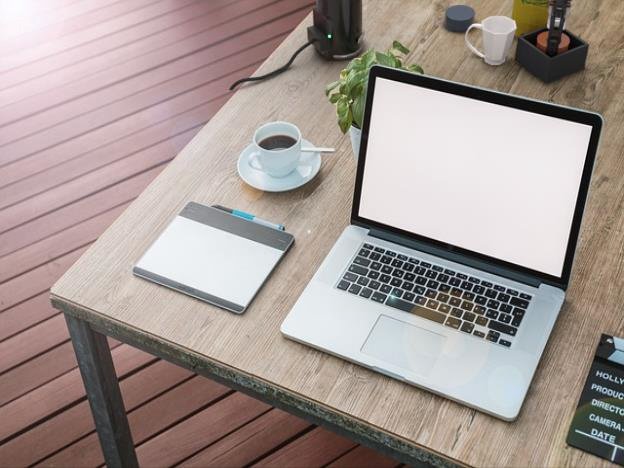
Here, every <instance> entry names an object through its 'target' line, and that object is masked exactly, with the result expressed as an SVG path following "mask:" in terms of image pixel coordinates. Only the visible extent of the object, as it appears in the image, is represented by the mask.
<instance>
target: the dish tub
mask: <svg viewBox="0 0 624 468" xmlns="http://www.w3.org/2000/svg"><path fill="white" fill-rule="evenodd" d="M546 31H549V28H547V26H545V27H542V28H539V29H537V30H534V31H531V32H529V33H526V34H524V35H521V36H518V39H517V38H516V45H515V52H514V62H515V63H517V64H518V65H519V66H521V67H522V68H523V69H525V70H526V71H528V72H529V73H530V74H531V75H533V76H534V77H535V78H537V79H538V80H540V81H541V82H542V83H543V84H544V85H548V84H550V83H552V82H554V81H558V80H559V79H562V78H564V77H568V76H569V75H573V74H575V73H578V72H579V71H582V70H584V69H585V66H586V62H587V57H588V54H589V53H588V52H589V49H590V43H589V42H586V41H585V40H583V39H582V38H581V37H579V36H577V35H576V34H574V33H573V32H572V31H570V30H569V29H567V28H565V29H564V30H563V31H562V33H563V34H565V35H567V36H568V37H569V39H570V43H569V48H568V51H566V52H564V53H561V54H559V55H556V56H554V57H551V58H550V57H549V56H548V55H546V54H545V53H543V52H542V51H541V50H539V49H538V48H536V42H537V37H538V35H539V34H541V33H543V32H546Z"/></svg>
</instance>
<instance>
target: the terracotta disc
mask: <svg viewBox="0 0 624 468" xmlns="http://www.w3.org/2000/svg"><path fill="white" fill-rule="evenodd" d="M548 33H549V31H546V32H543V33H541V34H539V35H538V37H537V42H536V48H538V49H539V50H541V51H542V52H543V53H546V47H547V41H546V40H547V36H548ZM551 35H555V34H551ZM561 38H562V39H561V43H560V45H559V47H558V53H557V55H559V54H561V53H564V52H566V51H568V48H569V43H570V39H569V37H568V36H567V35H565V34H563V33H562V36H561Z"/></svg>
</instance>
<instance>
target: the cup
mask: <svg viewBox="0 0 624 468" xmlns="http://www.w3.org/2000/svg"><path fill="white" fill-rule="evenodd" d="M473 28H477V29H480V30H481V33H482V34H481V35H482V36H481V38H482V46H483V53H481V52H480V51H479V50H478V49H476V48H475V47H474V45H472V44H471V42H470V41H469V38H468V35H469V31H470V30H471V29H473ZM516 29H517V28H516V23H515V21H514V20H512V19H511V18H510V17H508V16H506V15H490V16H488V17H486V18H484V19H483V20H482V21H481V23H474V24H472V25H471V26H470V27H469V28H468V30H467V31H465V36H464V42H465V44H466V45H467V47H468V48H469V49H470V50H471V51H472V52H473V53H474V54H475V55H477V56H478V57H479V58H483V59H484V63H486V64H488V65H491V66H501V65H502V64H504V63H505V62H506V57H508V54H509V52H510V49H511V46H512V45H513V44H512V43H513V40H514V38H515V37H514V35H515V32H516Z"/></svg>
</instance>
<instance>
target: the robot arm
mask: <svg viewBox="0 0 624 468" xmlns="http://www.w3.org/2000/svg"><path fill="white" fill-rule="evenodd" d="M315 3H316V6H313V7H312V22H313V23H312V24H313V25H310V26H307V27H306V34H307V35H306V36H307V42H306V43H304V44H303V45H301V46H300V47H299V48H298V49H297V50H296V51H295V52H294V53H293V55H291V57H290V59H289V60H288V62H287V63H286V64H285V65H283V66H282V67H280V68H277V69H275V70H274V71H271V72H269V73H266V74H263V75H260V76H254V77H253V76H252V77H245V78H241V79H238V80H236V81H235V82H233V83H232V85H231V86H230V87H229V88H228V91H234V89H235V88H236V87H237V86H238V85H240V84H243V83H246V82H247V83H248V82H257V81H262V80H266V79H268V78H270V77H272V76H275V75H277V74H279V73H281V72H284V71H286V70H287V69H288V68H289V67H291V65H292V64H293V63H294V61H295V60H296V58H297V57H298V56H299V54H300V53H301V52H303V51H304V50H306V49H307V48H309V46H311V45H312V47H314V49H315V50H316V51H317V52H318V53H319V54H320V55H321V56H323V57H324V58H325V59H326V60H327V61H328V62H332V61H334V60H335V61H342V60H343V61H344V60H349V59H352V58H355V57H357V56H359V54H361V53H362V51H363V49H364V40H363V39H364V36H365V34H366V33H365V31H366V30H365V29H364V30H363V0H315ZM571 7H572V0H550V3H549V9H548V12H549V17H548V23H547V28H549V33H548V36H547V40H546V41H547V47H546V53H545V54H546V55H548V56H549V57H550V58H551V57H554V56H556V55H557V53H558V47H559V45H560V43H561V39H562V38H561V36H562V31H563V30H564V29H565V28H566V27H567V22H568V16H569V15H570V13H571ZM550 21H551V22H550ZM566 29H567V28H566ZM551 34H555V35H551Z"/></svg>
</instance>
